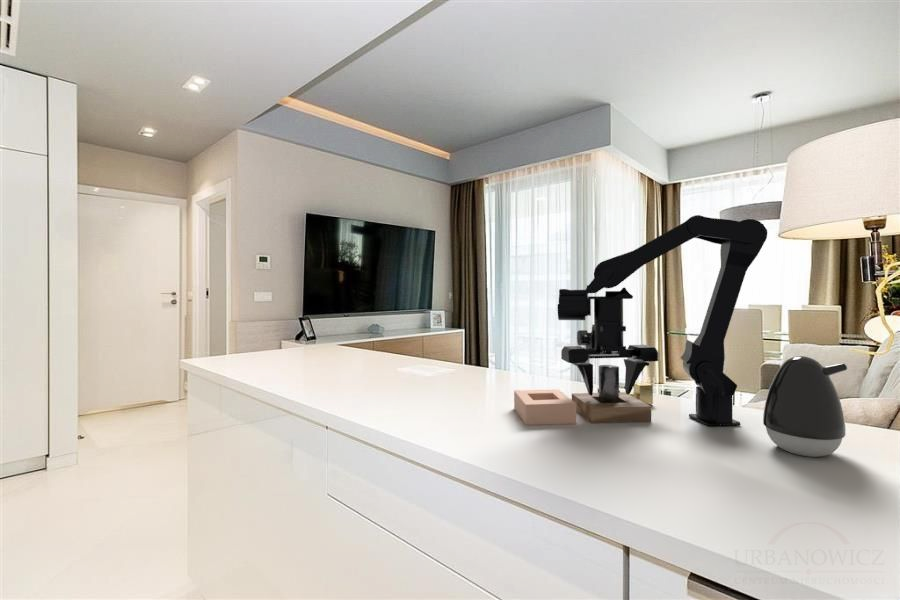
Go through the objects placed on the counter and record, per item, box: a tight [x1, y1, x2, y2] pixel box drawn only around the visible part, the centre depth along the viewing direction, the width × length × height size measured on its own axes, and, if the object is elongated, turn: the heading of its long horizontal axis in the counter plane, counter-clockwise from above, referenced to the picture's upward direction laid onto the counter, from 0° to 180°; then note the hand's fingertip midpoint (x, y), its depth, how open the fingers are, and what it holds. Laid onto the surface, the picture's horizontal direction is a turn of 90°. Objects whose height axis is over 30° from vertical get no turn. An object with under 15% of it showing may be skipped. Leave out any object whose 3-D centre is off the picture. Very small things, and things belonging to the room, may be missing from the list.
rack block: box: [513, 388, 577, 426], centre depth 91 cm, size 12×10×4 cm
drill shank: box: [598, 364, 620, 403], centre depth 91 cm, size 4×4×10 cm
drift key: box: [629, 381, 654, 405], centre depth 99 cm, size 3×11×4 cm, turn 92°
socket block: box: [571, 388, 652, 424], centre depth 92 cm, size 15×12×3 cm
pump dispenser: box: [762, 355, 848, 458], centre depth 69 cm, size 10×10×15 cm
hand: (609, 394), depth 91 cm, fingers open, 8 cm apart
